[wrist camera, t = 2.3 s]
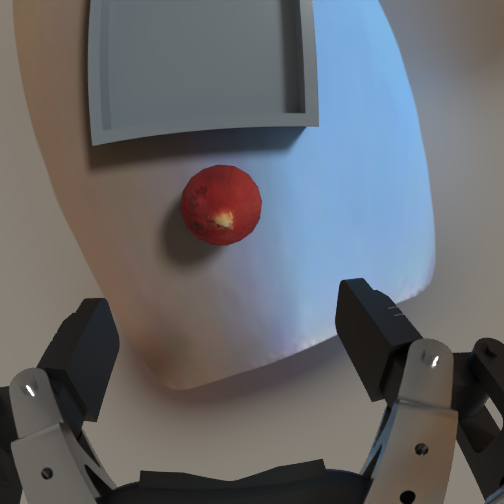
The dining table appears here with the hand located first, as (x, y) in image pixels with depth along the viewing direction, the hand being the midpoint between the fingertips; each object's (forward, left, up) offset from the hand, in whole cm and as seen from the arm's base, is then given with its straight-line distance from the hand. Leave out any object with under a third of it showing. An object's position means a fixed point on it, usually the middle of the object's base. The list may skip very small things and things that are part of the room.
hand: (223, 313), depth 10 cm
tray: (-14, -1, -17) cm, 22 cm away
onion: (0, 0, -17) cm, 17 cm away
